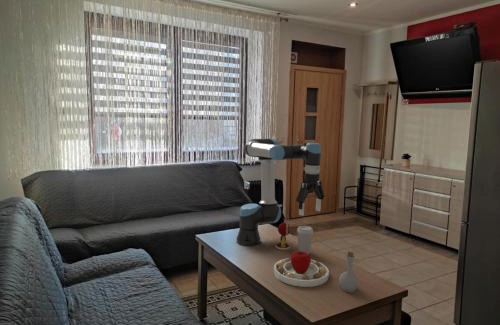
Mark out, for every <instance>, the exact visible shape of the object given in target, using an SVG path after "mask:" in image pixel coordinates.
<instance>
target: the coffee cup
mask: <svg viewBox="0 0 500 325" xmlns="http://www.w3.org/2000/svg"><path fill="white" fill-rule="evenodd" d="M296 232H297V245H298V246H297V249H298V250H297V251H302V252H306V253H307V254H308V255H310V254H311V246H312V240H313V233H314V229H313V227H311V226H308V225H300V226H298V227H297V229H296Z"/></svg>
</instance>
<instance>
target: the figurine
mask: <svg viewBox="0 0 500 325" xmlns="http://www.w3.org/2000/svg"><path fill="white" fill-rule="evenodd" d="M277 231H278V234H279V235H280V239H279V240H280V242H279V243H277V244H275V246H274V247H275V248H276V249H277V250H284V251H285V250H289V249H291V248H292V247H291V245H289V244H288V243H286V241H287V237H286V236H288V235H289V234H290V225H289V223H287V222H281V223H280V224H279V225H278V226H277Z"/></svg>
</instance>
